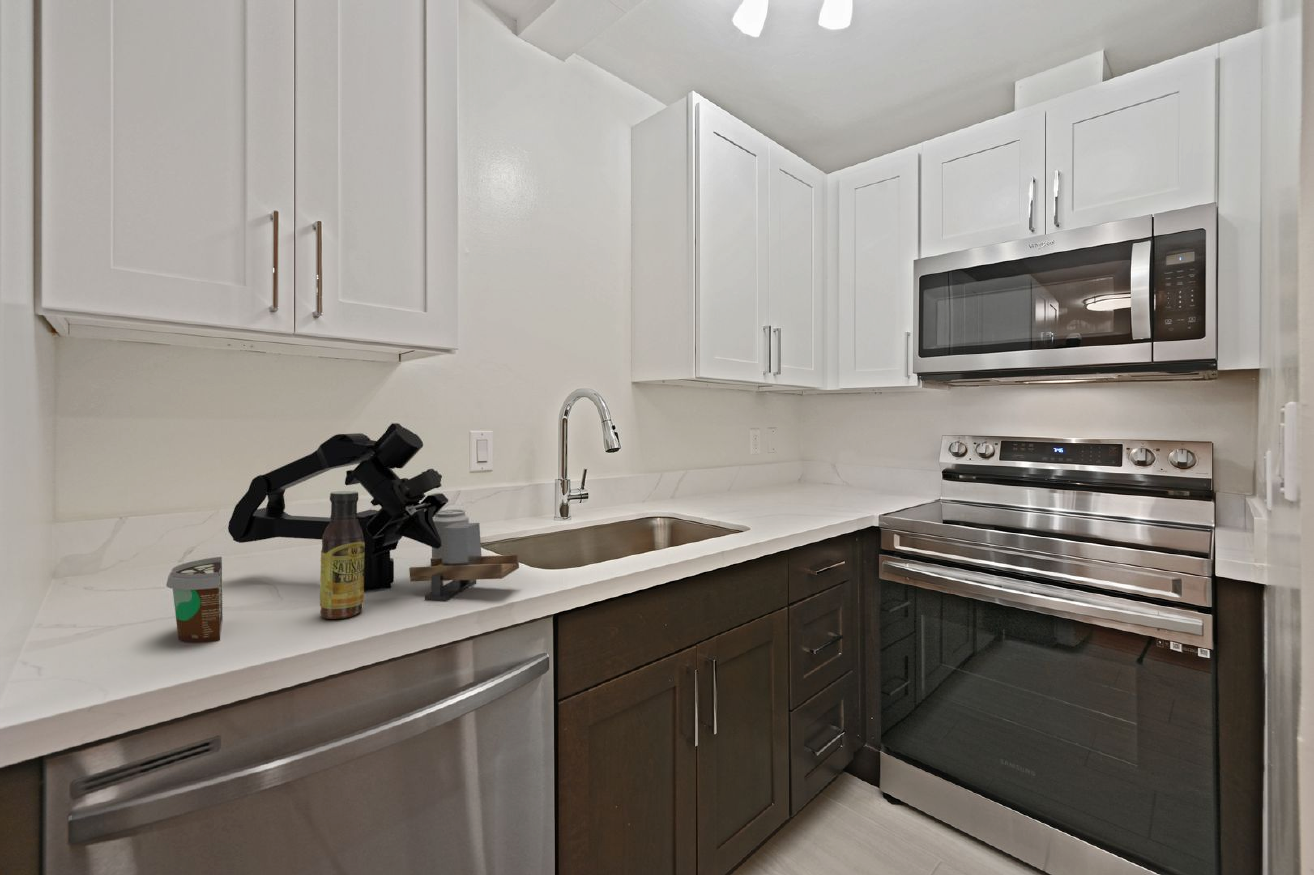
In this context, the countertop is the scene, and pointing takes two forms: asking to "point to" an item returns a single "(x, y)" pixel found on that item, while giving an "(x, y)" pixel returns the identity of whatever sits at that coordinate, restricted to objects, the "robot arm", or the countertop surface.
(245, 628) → the countertop surface
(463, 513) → the can
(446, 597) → the stand
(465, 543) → the steel block
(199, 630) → the food container
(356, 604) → the sauce bottle
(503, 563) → the beam
